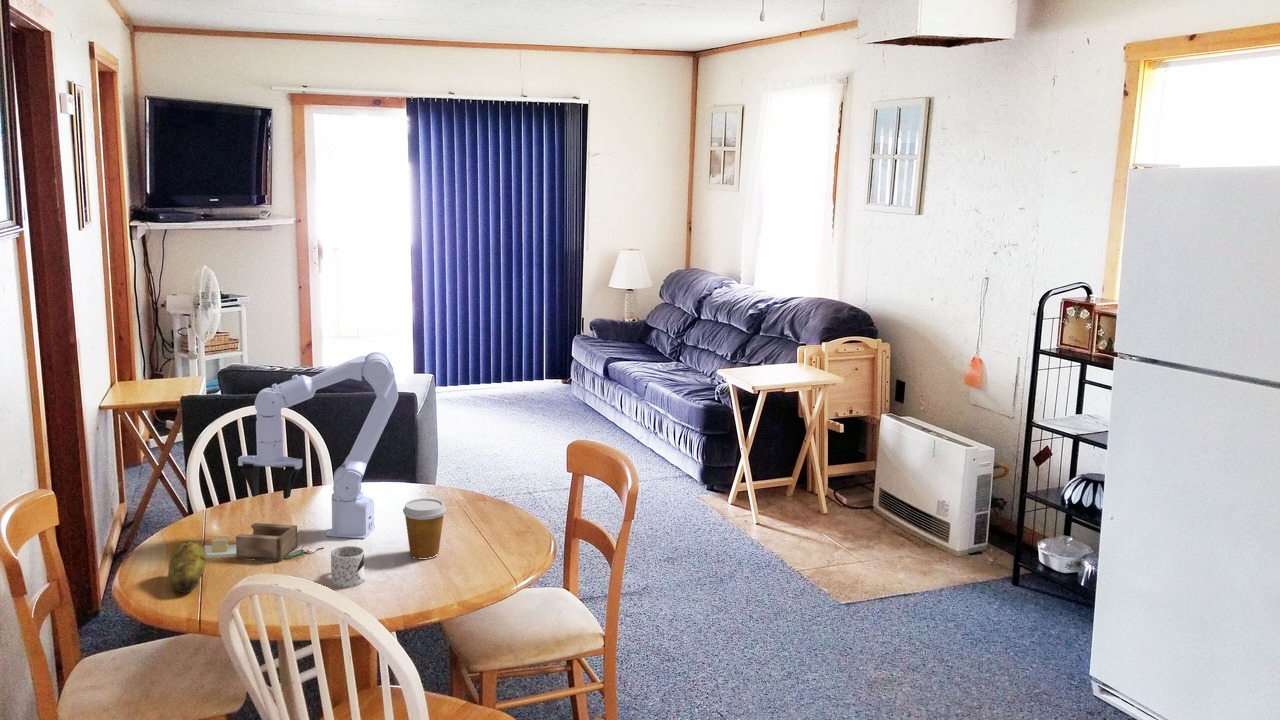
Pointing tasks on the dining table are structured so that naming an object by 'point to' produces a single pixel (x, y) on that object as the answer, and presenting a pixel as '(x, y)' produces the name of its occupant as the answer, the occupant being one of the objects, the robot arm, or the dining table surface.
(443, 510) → the disposable coffee cup
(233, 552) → the cover plate
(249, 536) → the walnut box
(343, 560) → the mug
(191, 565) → the potato
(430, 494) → the dining table surface
